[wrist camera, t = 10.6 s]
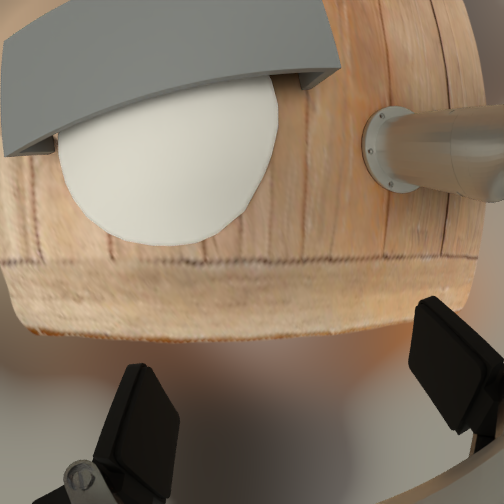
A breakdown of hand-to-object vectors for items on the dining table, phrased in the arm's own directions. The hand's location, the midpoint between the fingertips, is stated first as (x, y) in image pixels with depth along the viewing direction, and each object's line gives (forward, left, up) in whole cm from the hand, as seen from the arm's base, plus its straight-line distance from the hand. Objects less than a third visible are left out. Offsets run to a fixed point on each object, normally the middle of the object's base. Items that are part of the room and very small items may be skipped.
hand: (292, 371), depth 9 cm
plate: (+7, -13, -29) cm, 32 cm away
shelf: (+6, -22, -28) cm, 36 cm away
